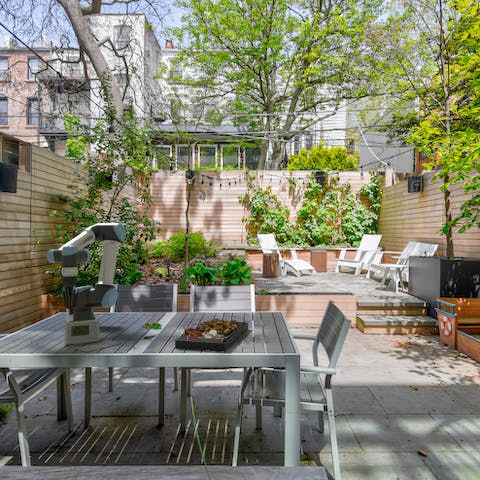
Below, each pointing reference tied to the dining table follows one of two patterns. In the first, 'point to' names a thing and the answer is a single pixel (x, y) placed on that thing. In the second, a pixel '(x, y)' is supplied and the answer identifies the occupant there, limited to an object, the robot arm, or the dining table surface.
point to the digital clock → (82, 332)
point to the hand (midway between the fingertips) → (69, 320)
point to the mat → (97, 346)
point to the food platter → (212, 335)
